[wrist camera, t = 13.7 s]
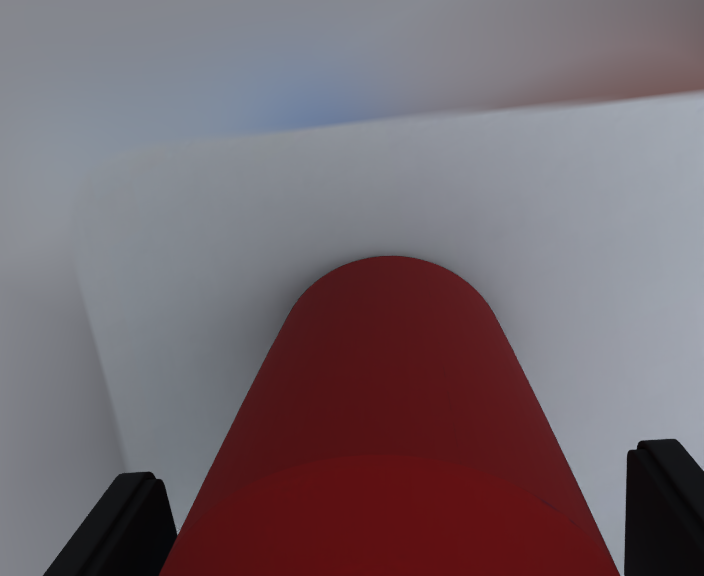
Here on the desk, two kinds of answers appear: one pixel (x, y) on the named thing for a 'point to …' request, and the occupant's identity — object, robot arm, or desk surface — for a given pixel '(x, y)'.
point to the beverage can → (390, 446)
